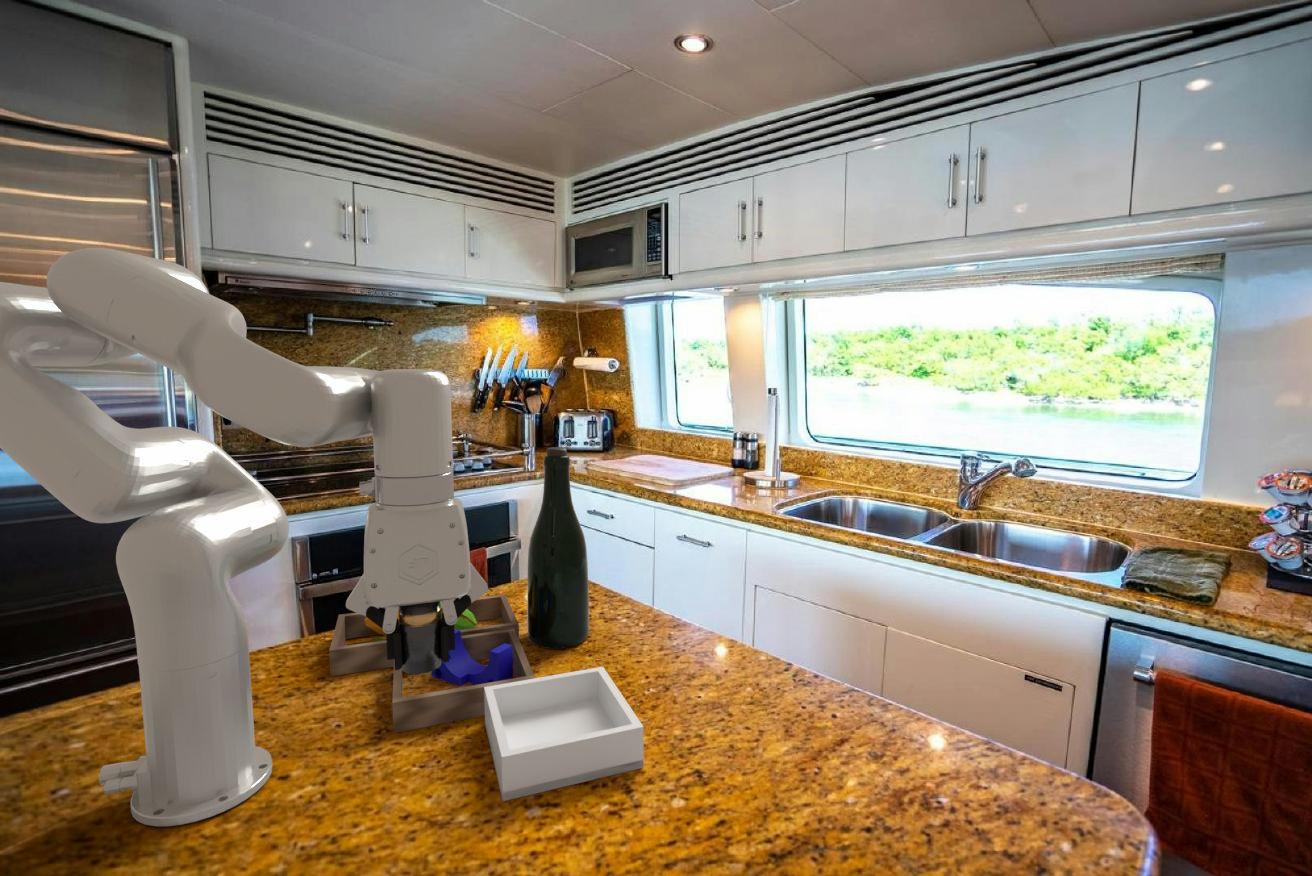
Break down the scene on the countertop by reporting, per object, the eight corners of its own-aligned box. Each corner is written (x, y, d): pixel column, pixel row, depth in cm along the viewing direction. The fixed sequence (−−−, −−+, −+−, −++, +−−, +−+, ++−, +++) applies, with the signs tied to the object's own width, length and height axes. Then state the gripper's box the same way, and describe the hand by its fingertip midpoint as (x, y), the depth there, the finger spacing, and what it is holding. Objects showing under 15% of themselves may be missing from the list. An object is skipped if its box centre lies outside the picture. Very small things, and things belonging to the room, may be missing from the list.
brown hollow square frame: (393, 733, 80) (392, 703, 80) (395, 670, 97) (394, 645, 96) (535, 706, 87) (535, 678, 86) (514, 652, 103) (514, 628, 103)
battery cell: (400, 677, 64) (397, 604, 63) (401, 659, 68) (398, 591, 67) (443, 670, 66) (441, 599, 65) (441, 653, 70) (439, 586, 69)
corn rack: (330, 676, 95) (329, 650, 94) (339, 637, 109) (338, 614, 108) (519, 647, 105) (518, 624, 105) (505, 615, 119) (505, 594, 118)
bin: (502, 801, 67) (501, 757, 67) (484, 723, 82) (484, 687, 82) (643, 767, 73) (643, 726, 73) (603, 701, 88) (603, 666, 88)
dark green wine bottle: (541, 623, 115) (538, 443, 112) (596, 628, 113) (595, 444, 110) (517, 647, 105) (514, 450, 101) (578, 653, 103) (576, 452, 99)
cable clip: (431, 677, 95) (430, 639, 94) (454, 665, 99) (453, 628, 98) (491, 698, 89) (490, 657, 88) (513, 684, 93) (512, 645, 92)
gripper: (319, 503, 58) (329, 692, 60) (503, 490, 64) (507, 663, 66) (328, 489, 65) (337, 658, 67) (494, 479, 71) (498, 635, 73)
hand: (422, 659), depth 67 cm, fingers closed on battery cell, 4 cm apart
